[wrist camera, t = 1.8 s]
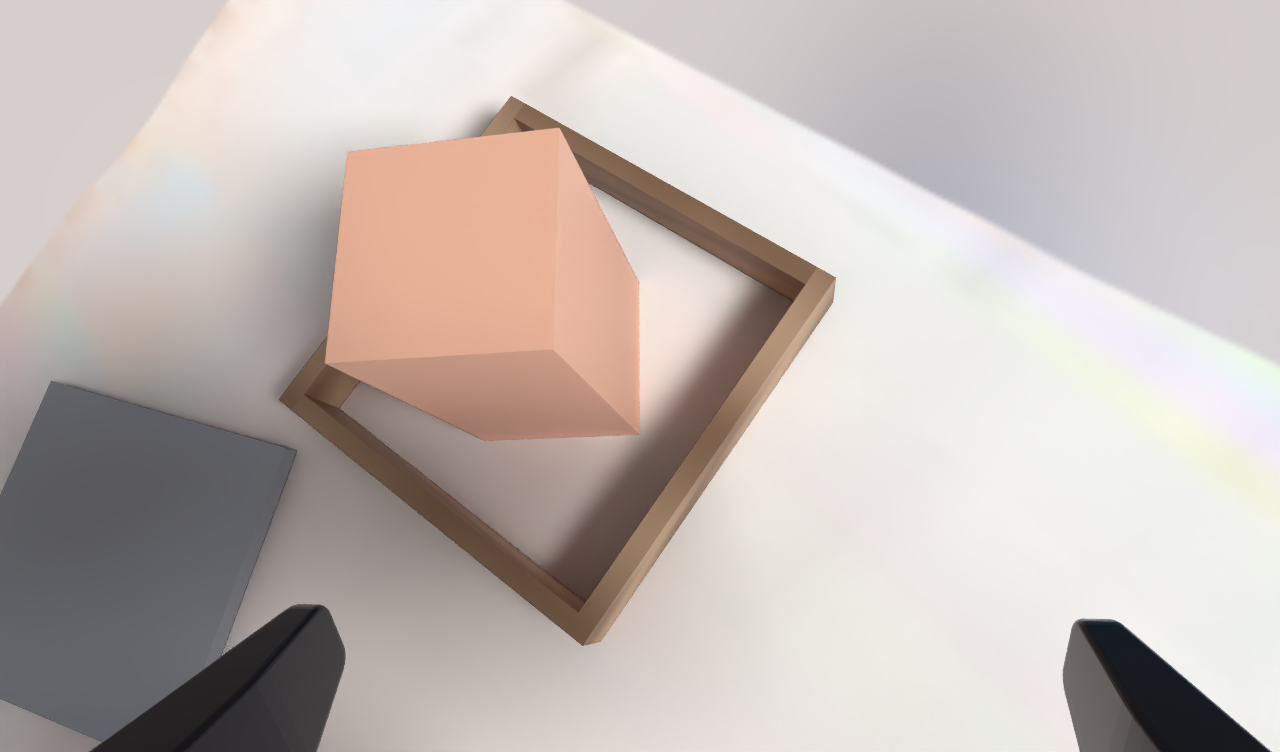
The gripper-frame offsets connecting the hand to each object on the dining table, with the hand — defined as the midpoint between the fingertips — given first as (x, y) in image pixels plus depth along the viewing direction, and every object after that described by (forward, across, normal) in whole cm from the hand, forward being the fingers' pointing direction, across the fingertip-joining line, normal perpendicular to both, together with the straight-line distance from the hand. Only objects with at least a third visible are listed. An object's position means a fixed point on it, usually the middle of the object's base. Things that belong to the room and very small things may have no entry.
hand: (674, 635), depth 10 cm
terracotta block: (+15, +5, +4) cm, 16 cm away
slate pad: (+11, +20, +9) cm, 25 cm away
